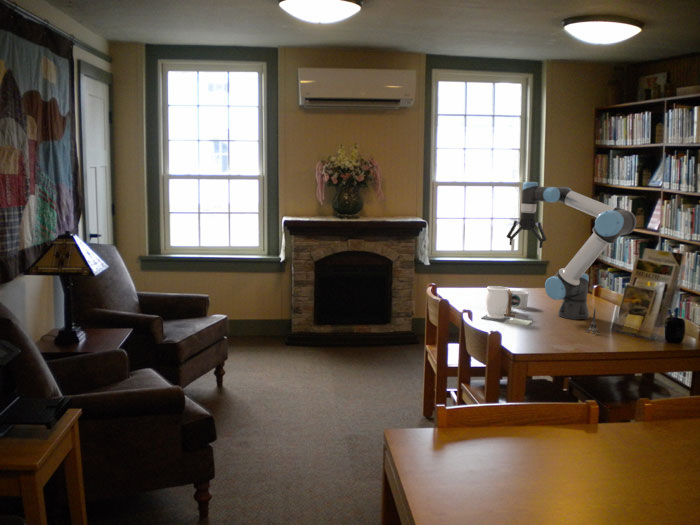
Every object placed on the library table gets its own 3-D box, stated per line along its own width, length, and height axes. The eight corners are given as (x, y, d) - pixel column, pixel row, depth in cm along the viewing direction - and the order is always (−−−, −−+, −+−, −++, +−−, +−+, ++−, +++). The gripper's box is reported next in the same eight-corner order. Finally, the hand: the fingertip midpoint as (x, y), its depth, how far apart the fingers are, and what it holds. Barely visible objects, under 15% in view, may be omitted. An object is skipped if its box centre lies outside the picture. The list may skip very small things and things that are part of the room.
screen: (510, 309, 375) (512, 287, 374) (515, 316, 358) (516, 293, 356) (498, 308, 376) (500, 286, 374) (503, 316, 358) (504, 292, 356)
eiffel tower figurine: (577, 329, 337) (580, 302, 335) (600, 331, 336) (602, 303, 334) (582, 337, 323) (584, 308, 321) (605, 339, 321) (608, 310, 319)
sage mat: (532, 322, 347) (532, 320, 347) (527, 325, 339) (527, 324, 339) (514, 319, 351) (514, 318, 351) (509, 323, 343) (509, 321, 343)
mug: (529, 306, 386) (530, 291, 385) (525, 309, 376) (526, 294, 375) (504, 303, 391) (505, 289, 390) (500, 306, 382) (501, 292, 381)
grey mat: (509, 318, 355) (509, 316, 354) (503, 322, 345) (503, 320, 345) (487, 315, 360) (488, 313, 359) (481, 319, 350) (481, 317, 350)
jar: (505, 315, 357) (507, 286, 354) (507, 320, 346) (510, 290, 344) (484, 314, 358) (486, 285, 355) (485, 319, 347) (487, 288, 345)
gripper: (554, 213, 362) (551, 254, 365) (506, 210, 374) (503, 250, 377) (551, 214, 356) (548, 256, 359) (502, 210, 367) (499, 251, 370)
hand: (525, 253), depth 368 cm, fingers open, 13 cm apart
